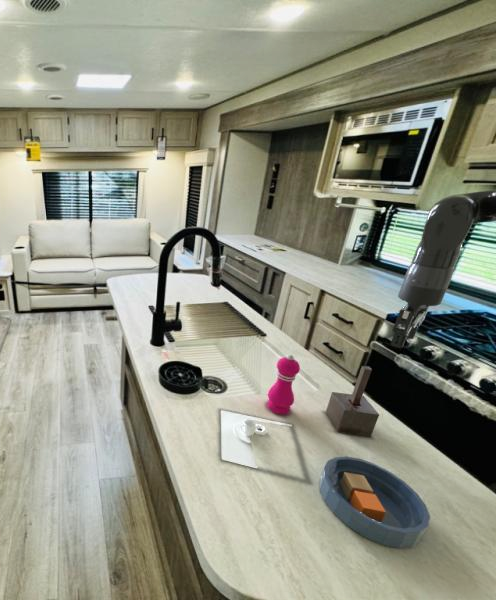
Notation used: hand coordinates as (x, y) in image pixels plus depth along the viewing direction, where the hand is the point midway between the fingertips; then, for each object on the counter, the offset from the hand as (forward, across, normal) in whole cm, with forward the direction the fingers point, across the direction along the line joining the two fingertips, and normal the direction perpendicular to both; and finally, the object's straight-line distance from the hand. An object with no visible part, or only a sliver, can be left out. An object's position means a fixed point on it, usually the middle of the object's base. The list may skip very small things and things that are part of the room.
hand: (401, 342), depth 80 cm
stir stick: (+30, -2, +4) cm, 30 cm away
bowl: (+29, -28, -9) cm, 42 cm away
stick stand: (+30, -2, +4) cm, 30 cm away
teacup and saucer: (+30, -30, +15) cm, 45 cm away
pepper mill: (+30, -12, +20) cm, 38 cm away
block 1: (+29, -28, -6) cm, 40 cm away
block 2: (+29, -31, -9) cm, 43 cm away
